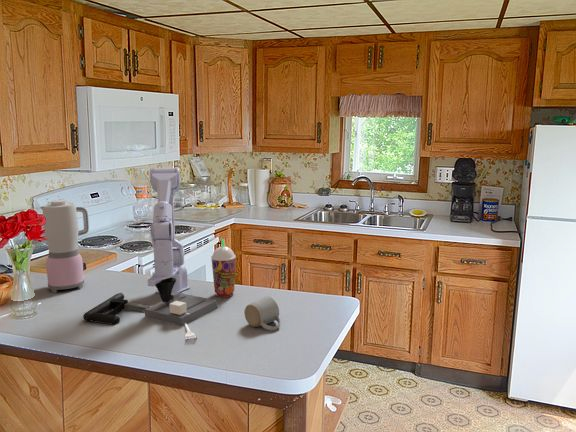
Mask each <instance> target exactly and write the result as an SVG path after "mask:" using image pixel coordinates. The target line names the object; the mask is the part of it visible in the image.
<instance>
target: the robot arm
mask: <svg viewBox="0 0 576 432" xmlns="http://www.w3.org/2000/svg"><path fill="white" fill-rule="evenodd" d="M149 181H150V182H149V183H150V185H151V188H152V190H153V192H155V193H156V194H157V195H156V196H157V203H155V204H154V206H153V215H152V223H151V224H150V228H149V229H150V232H149V233H150V239H151V244H152V247H153V261H154V262H153V263H154V264H153V265H154V272H152V273H151V275H152V276H151V277H150V278H148V279H147V286H148V287H155V288H156V290H155V293H158V294H159V297H160V299H161V302H169V301H170V297H171V292H172V291H174V292H179V293H182V292H184V291H186V290H188V289H190V288H191V287H190V286H189V285H188V284H189V282H188V281H189V280H188V269H187V267H186V265H184V264H185V251H184V245H183V243H182V242H181V241H180V240H178V239H177V238H176V226H175V204H174V203H175V202H174V201H175V199H174V198H175V194H176V193H177V192H179V191H180V189H181V169H180V168H179V166H176V167H151V168H150V169H149Z"/></svg>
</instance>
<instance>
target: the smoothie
mask: <svg viewBox="0 0 576 432" xmlns="http://www.w3.org/2000/svg"><path fill="white" fill-rule="evenodd" d="M210 257H211V258H210V259H211V267H212V275H213V276H212V277H213V278H212V279H213V287H214V293H215V294H216V296H217V297H220V298H228V297H231V296H233V295H234V292H235V286H236V285H235V282H236V280H235V279H236V278H235V277H236V257H237V255H236V254H235V252H234V251H233V250H232V249H231V248H230V247H228V246H226V245H225V239H224V238H221V246H219V247H217V248H216V249H215V250H214V251H213V253H212V255H211V256H210Z"/></svg>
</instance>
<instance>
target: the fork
mask: <svg viewBox="0 0 576 432" xmlns="http://www.w3.org/2000/svg"><path fill="white" fill-rule="evenodd" d="M184 325H185V326H184V329H185V332H186V333H185V334H184V337H185V338H184V339H185V341H187V340H193V339H194V340H195V339H198V337H197V336H196V333H194V332H192V331H191V330H190V327H189V325H188V323H185V324H184Z"/></svg>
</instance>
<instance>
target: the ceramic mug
mask: <svg viewBox="0 0 576 432" xmlns="http://www.w3.org/2000/svg"><path fill="white" fill-rule="evenodd" d="M244 319H245V320H246V322H247V323H248V324H249V325H250V326H251V327H253V328H257V327H262V328H263V329H265V330H267V331H269V332H270V331H272V332H273V330H274V331H276V330H277V331H278V329H280V326H281V318H280V308H279V306H278V303H277V302H276V300H275V299H274V298H273V297H271V296H267V295H266V296H264V297H262V298H260V299H258V300H255V301H252V302H250V303H249V304H248V305H246V306H245V308H244ZM275 321H276V323H277V325H276V326H275V325H274V326H271V325H268V324H270V323H273V322H275Z"/></svg>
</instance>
